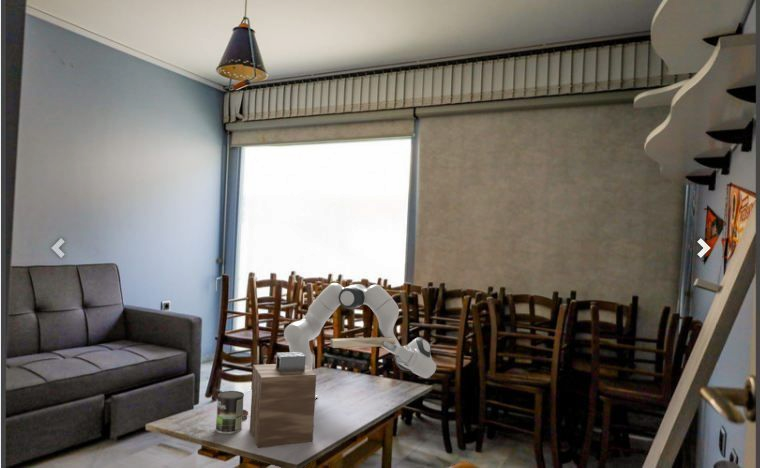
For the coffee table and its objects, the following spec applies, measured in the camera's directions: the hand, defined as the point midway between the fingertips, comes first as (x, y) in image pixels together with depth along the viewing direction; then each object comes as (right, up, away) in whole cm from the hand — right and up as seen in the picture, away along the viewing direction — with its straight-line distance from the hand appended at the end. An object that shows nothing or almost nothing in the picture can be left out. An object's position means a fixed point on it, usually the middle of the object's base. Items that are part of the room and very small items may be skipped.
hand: (381, 340), depth 215 cm
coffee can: (-62, -33, -14) cm, 72 cm away
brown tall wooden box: (-40, -34, -17) cm, 55 cm away
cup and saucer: (-64, -34, 0) cm, 72 cm away
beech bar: (-8, -1, -3) cm, 8 cm away
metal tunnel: (-37, -8, -16) cm, 41 cm away
